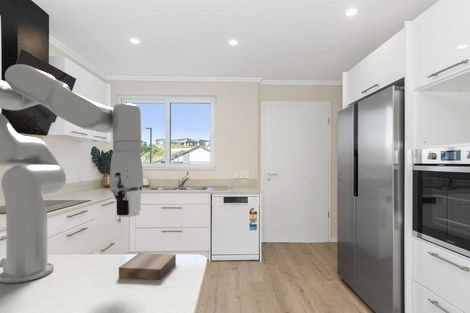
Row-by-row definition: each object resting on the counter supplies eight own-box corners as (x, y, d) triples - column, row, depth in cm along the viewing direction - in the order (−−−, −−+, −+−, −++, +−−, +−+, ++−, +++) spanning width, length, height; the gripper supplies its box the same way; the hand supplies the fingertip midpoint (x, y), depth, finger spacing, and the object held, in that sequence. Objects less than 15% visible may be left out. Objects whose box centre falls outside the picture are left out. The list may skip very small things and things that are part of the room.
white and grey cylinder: (132, 217, 74) (132, 191, 74) (110, 217, 75) (109, 191, 76) (146, 212, 80) (146, 188, 81) (125, 212, 82) (125, 189, 82)
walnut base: (118, 278, 76) (118, 267, 76) (139, 262, 88) (139, 253, 88) (160, 280, 75) (160, 269, 75) (175, 264, 87) (175, 254, 87)
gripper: (131, 150, 87) (132, 207, 87) (95, 147, 70) (97, 219, 70) (153, 149, 86) (155, 207, 86) (122, 146, 69) (124, 219, 69)
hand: (129, 212), depth 78 cm, fingers closed on white and grey cylinder, 5 cm apart
